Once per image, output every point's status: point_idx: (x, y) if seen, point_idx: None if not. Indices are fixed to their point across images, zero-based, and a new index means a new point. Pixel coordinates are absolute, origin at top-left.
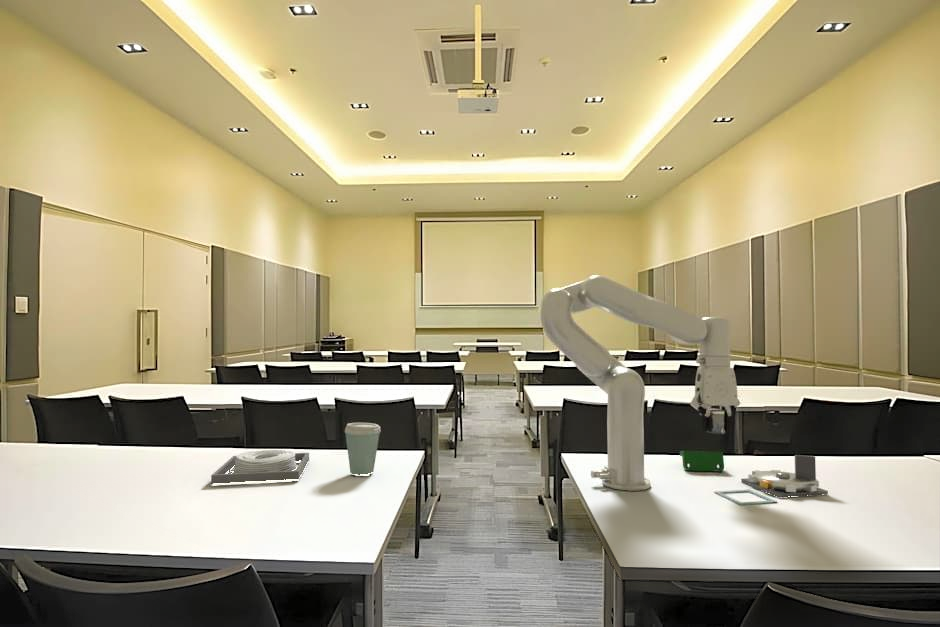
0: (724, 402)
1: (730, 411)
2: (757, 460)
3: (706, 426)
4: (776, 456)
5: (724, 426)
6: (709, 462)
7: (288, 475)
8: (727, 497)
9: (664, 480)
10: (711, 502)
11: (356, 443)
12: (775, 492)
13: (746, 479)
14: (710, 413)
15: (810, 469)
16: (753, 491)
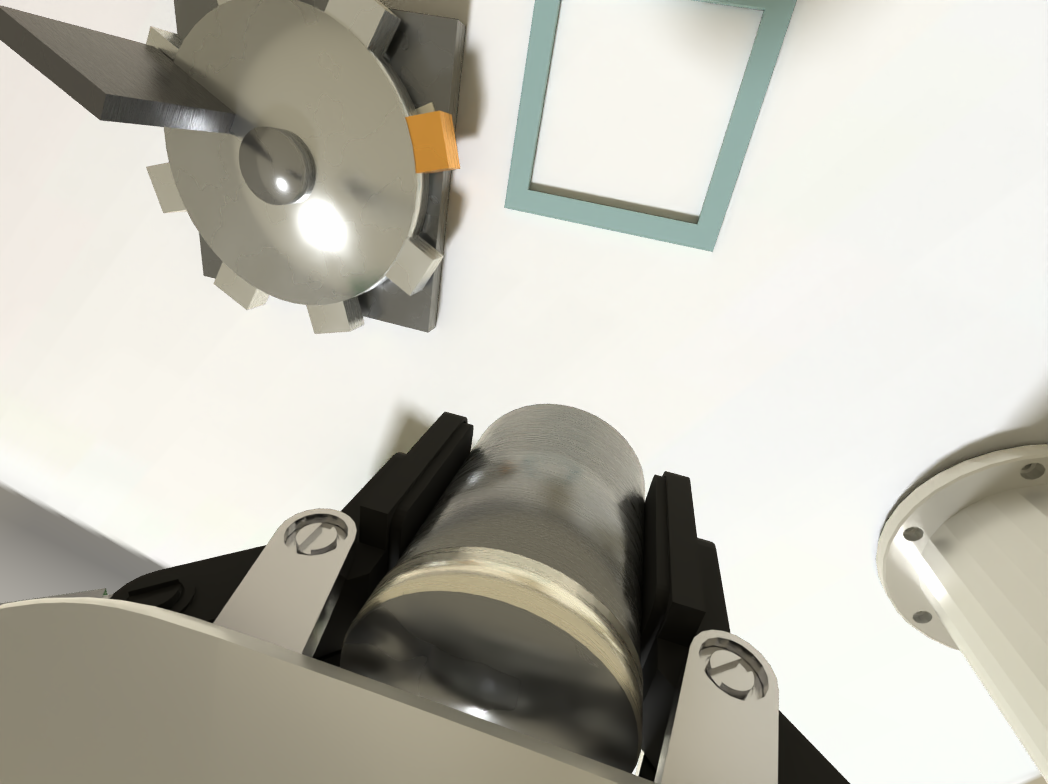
0: (341, 755)
1: (273, 554)
2: (162, 511)
3: (700, 545)
4: (71, 510)
5: (486, 448)
6: None
7: None
8: (747, 130)
9: (754, 508)
10: (908, 106)
11: None
12: (451, 56)
13: (414, 312)
14: (641, 674)
15: (118, 50)
16: (513, 166)
